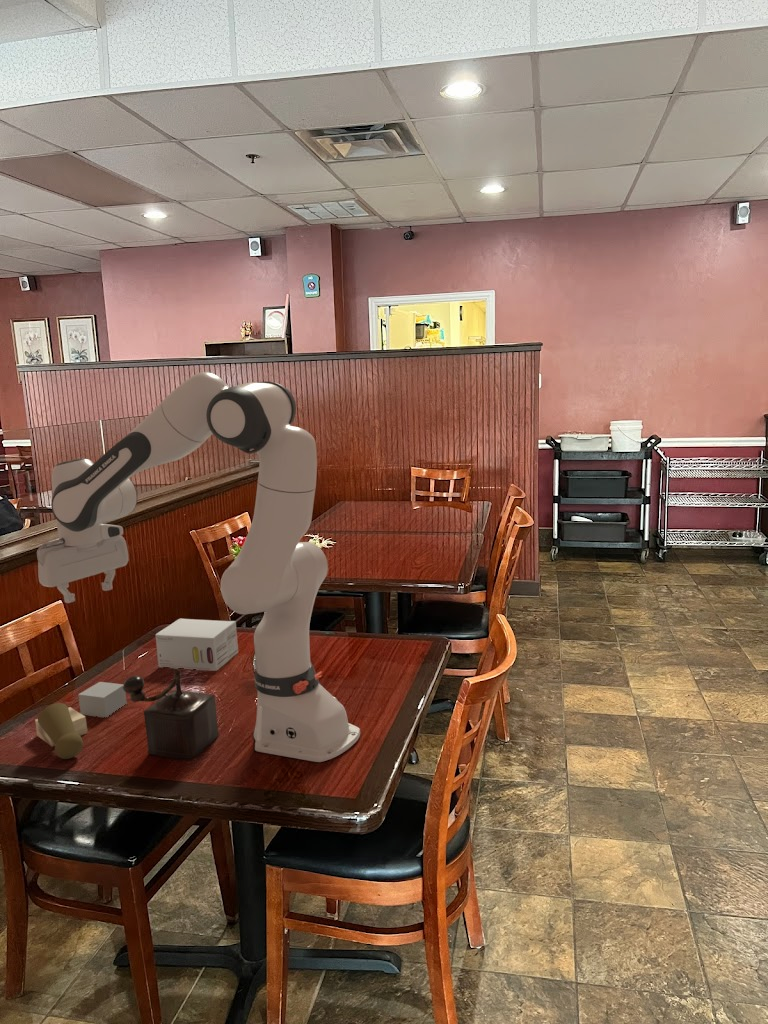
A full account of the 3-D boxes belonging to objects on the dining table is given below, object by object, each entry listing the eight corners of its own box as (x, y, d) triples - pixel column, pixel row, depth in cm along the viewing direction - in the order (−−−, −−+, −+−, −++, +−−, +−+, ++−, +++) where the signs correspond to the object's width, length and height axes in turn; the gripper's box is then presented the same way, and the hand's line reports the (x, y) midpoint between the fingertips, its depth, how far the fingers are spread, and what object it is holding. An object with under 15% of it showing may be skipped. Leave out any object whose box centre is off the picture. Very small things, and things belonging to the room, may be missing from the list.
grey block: (126, 704, 166) (124, 684, 165) (106, 718, 160) (103, 697, 159) (102, 701, 168) (99, 681, 168) (80, 715, 162) (78, 694, 161)
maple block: (87, 734, 153) (85, 716, 152) (52, 748, 148) (49, 730, 147) (72, 723, 158) (70, 707, 158) (37, 737, 153) (35, 719, 152)
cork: (70, 700, 149) (90, 736, 142) (65, 722, 151) (84, 759, 144) (40, 706, 144) (59, 744, 138) (35, 729, 147) (53, 767, 140)
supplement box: (157, 668, 187) (153, 634, 185) (183, 649, 199) (179, 617, 198) (216, 672, 183) (213, 637, 181) (239, 652, 195) (236, 619, 194)
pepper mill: (174, 729, 153) (165, 649, 149) (220, 735, 149) (212, 653, 146) (127, 768, 138) (117, 680, 135) (177, 775, 135) (167, 685, 131)
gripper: (45, 545, 144) (54, 611, 147) (129, 525, 161) (136, 585, 164) (26, 543, 148) (36, 608, 150) (110, 524, 165) (118, 582, 167)
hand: (89, 595), depth 157 cm, fingers open, 8 cm apart
